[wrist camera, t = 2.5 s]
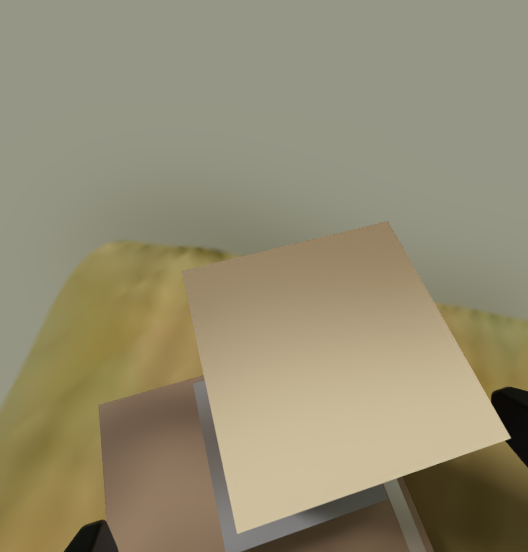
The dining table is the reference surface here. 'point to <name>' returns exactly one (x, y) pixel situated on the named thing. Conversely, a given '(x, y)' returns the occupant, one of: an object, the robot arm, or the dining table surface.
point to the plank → (199, 490)
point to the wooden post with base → (325, 382)
